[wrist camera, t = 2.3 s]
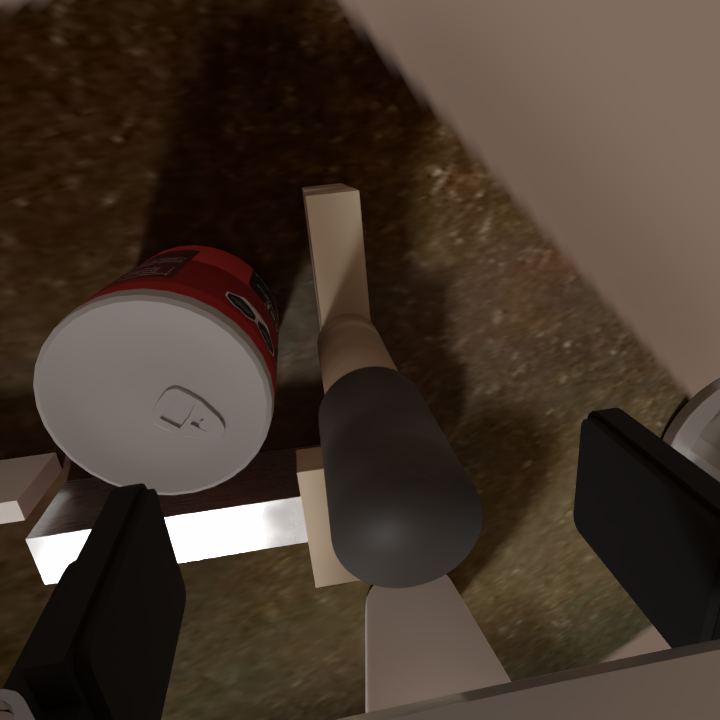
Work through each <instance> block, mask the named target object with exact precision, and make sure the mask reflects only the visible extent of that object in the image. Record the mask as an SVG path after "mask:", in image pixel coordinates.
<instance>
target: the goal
mask: <svg viewBox="0 0 720 720" xmlns="http://www.w3.org/2000/svg"><path fill="white" fill-rule="evenodd" d="M61 471H62V468H61V465H60V463H59V460H58V457H57V454H56V452H55V453H48V454H41V455H34V456H27V457H20V458H13V459H6V460H0V524H2V523H9V522H16V521H22V520H25V519H26V518H27V517H28V515H29V514H30V513H31V511H32V510H33V509H34V507H35V506H36V505H37V503H38V502H39V500H40V499H41V498H42V496H43V495H44V494H45V492H46V491H47V490H48V488H49V487H50V486H51V484H52V483H53V482H54V480H55V479H56V478H57V476H58V475H59V474H60V472H61Z"/></svg>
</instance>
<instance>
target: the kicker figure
mask: <svg viewBox="0 0 720 720" xmlns="http://www.w3.org/2000/svg"><path fill="white" fill-rule="evenodd" d="M302 193H303V200H304V208H305V216H306V224H307V231H308V239H309V247H310V255H311V263H312V270H313V278H314V286H315V294H316V301H317V309H318V317H319V325H320V334H319V337H318V353H319V360H320V367H321V373H322V380H323V387H324V394H325V395H324V397H323V399H322V402H321V404H320V408H319V415H318V421H319V431H320V441H321V446H320V447H313V448H306V449H299V450H296V456H297V477H298V483H299V489H300V495H301V501H302V507H303V513H304V519H305V525H306V531H307V537H308V543H309V549H310V555H311V561H312V567H313V573H314V579H315V585H316V588H317V587H323V586H329V585H334V584H340V583H346V582H352V581H358V580H362V581H364V582H366V583H369V584H372V585H375V586H380V587H385V588H407V587H414V586H418V585H422V584H425V583H428V582H431V581H433V580H436V579H438V578H440V577H442V576H444V575H445V574H447V573H449V572H450V571H451V570H453V569H454V568H456V567H457V566H458V565H459V564H460V563H461V562H462V561H463V560H464V559H465V558H466V557H467V556H468V555H469V553H470V552H471V550H472V549H473V548H474V546H475V544H476V542H477V540H478V538H479V535H480V532H481V528H482V523H483V510H482V505H481V501H480V498H479V496H478V494H477V492H476V490H475V488H474V486H473V485H472V483H471V481H470V479H469V478H468V476H467V474H466V472H465V470H464V469H463V467H462V465H461V463H460V462H459V460H458V458H457V456H456V455H455V453H454V451H453V449H452V447H451V446H450V444H449V442H448V440H447V439H446V437H445V435H444V433H443V431H442V430H441V428H440V426H439V424H438V423H437V421H436V419H435V417H434V416H433V414H432V412H431V410H430V408H429V407H428V405H427V403H426V401H425V400H424V398H423V396H422V394H421V393H420V391H419V389H418V388H417V386H416V385H415V384H414V382H413V381H412V380H411V379H409V378H408V377H407V376H406V375H404V374H402V373H401V372H398V370H397V368H396V366H395V364H394V362H393V361H392V359H391V357H390V355H389V353H388V351H387V349H386V347H385V345H384V343H383V341H382V339H381V337H380V335H379V333H378V331H377V329H376V328H375V326H374V325H373V324H372V323H371V319H370V308H369V297H368V285H367V274H366V263H365V252H364V240H363V229H362V218H361V206H360V195H359V190H357V189H354V188H352V187H350V186H347V185H345V184H342V183H339V184H329V185H320V186H310V187H302Z"/></svg>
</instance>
